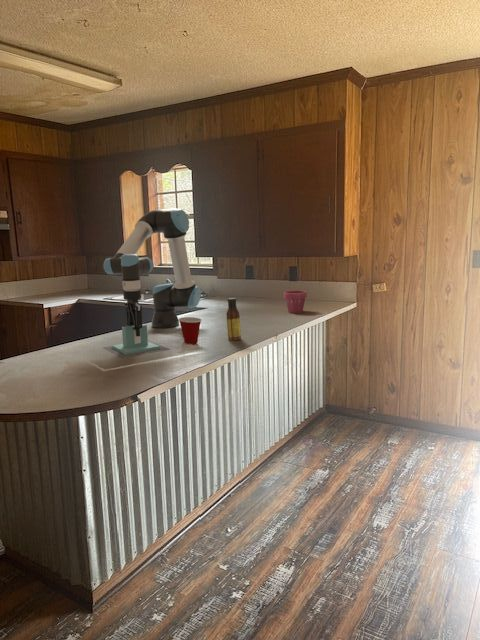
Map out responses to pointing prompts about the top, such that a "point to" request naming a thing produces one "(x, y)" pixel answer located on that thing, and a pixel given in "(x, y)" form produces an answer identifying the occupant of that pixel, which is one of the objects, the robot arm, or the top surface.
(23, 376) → the top surface
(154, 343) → the mat
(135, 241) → the robot arm
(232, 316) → the sauce bottle
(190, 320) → the plastic cup
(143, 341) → the lid
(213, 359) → the top surface
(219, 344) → the top surface
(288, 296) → the plant pot
